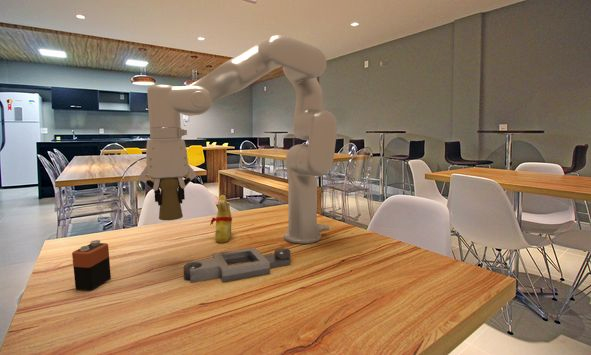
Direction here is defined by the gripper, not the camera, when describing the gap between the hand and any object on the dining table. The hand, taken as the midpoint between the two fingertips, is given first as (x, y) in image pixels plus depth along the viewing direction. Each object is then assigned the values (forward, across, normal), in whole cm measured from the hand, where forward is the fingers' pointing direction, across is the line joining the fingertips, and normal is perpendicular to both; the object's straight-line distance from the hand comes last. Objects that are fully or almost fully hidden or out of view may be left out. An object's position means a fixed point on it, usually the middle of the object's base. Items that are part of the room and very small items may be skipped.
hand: (170, 202), depth 89 cm
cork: (+4, 0, 0) cm, 4 cm away
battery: (+17, +18, +5) cm, 26 cm away
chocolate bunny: (+17, -17, -16) cm, 29 cm away
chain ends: (+17, -16, +11) cm, 26 cm away
